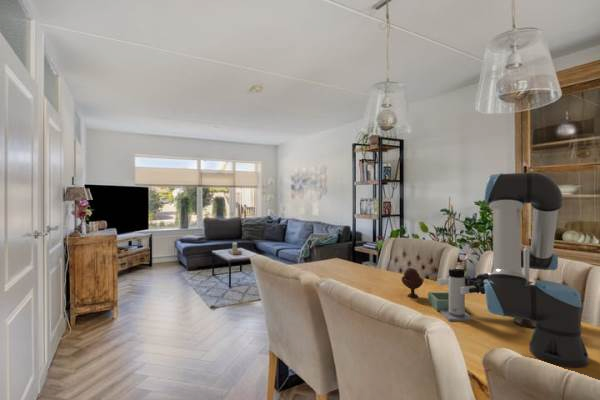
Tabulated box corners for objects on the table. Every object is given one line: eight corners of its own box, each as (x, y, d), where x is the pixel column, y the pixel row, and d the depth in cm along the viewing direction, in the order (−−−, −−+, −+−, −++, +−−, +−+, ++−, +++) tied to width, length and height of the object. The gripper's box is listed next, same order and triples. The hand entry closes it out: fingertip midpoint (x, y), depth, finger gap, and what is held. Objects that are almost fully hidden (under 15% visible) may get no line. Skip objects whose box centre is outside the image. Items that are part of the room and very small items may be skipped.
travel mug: (456, 318, 136) (456, 270, 135) (445, 312, 142) (445, 267, 142) (468, 316, 137) (468, 269, 137) (457, 311, 144) (457, 266, 143)
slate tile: (473, 321, 135) (473, 318, 135) (448, 320, 136) (448, 318, 136) (462, 312, 145) (462, 310, 145) (440, 312, 146) (440, 309, 146)
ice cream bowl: (425, 300, 162) (425, 270, 161) (402, 299, 164) (402, 269, 164) (422, 293, 172) (422, 265, 172) (400, 292, 174) (400, 265, 174)
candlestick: (505, 318, 138) (505, 235, 137) (534, 319, 136) (534, 236, 135) (518, 328, 127) (518, 239, 126) (549, 330, 125) (549, 239, 125)
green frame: (464, 311, 146) (464, 300, 146) (436, 311, 147) (436, 300, 147) (453, 302, 158) (453, 292, 158) (428, 302, 159) (428, 292, 158)
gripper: (514, 298, 133) (472, 304, 127) (467, 282, 157) (430, 287, 151) (514, 280, 133) (472, 285, 127) (467, 267, 157) (430, 271, 151)
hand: (449, 286), depth 139 cm, fingers open, 13 cm apart
